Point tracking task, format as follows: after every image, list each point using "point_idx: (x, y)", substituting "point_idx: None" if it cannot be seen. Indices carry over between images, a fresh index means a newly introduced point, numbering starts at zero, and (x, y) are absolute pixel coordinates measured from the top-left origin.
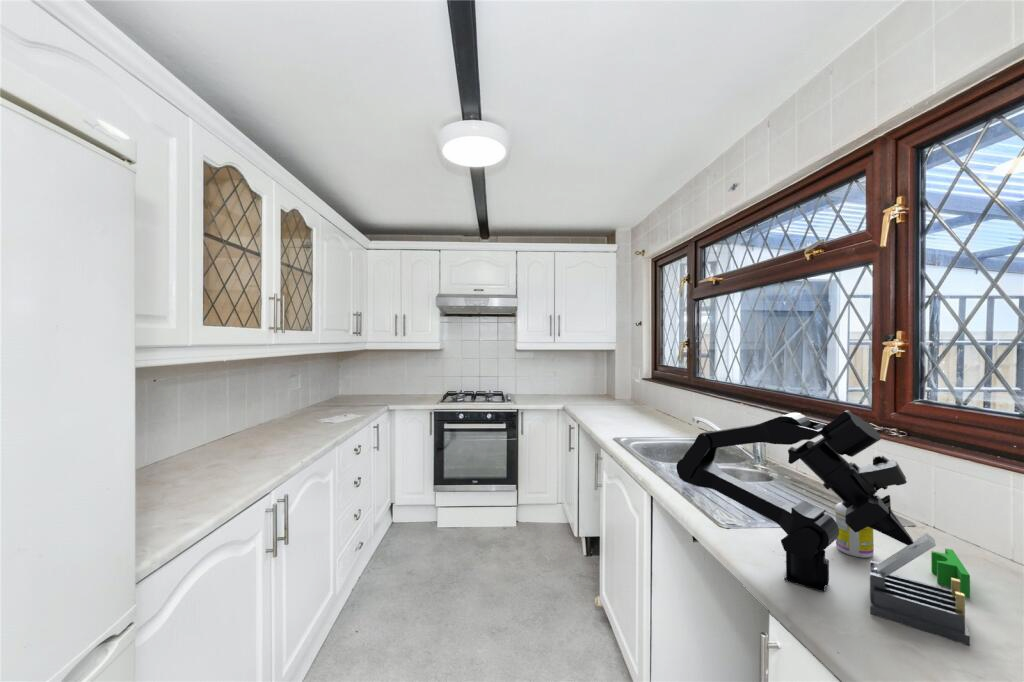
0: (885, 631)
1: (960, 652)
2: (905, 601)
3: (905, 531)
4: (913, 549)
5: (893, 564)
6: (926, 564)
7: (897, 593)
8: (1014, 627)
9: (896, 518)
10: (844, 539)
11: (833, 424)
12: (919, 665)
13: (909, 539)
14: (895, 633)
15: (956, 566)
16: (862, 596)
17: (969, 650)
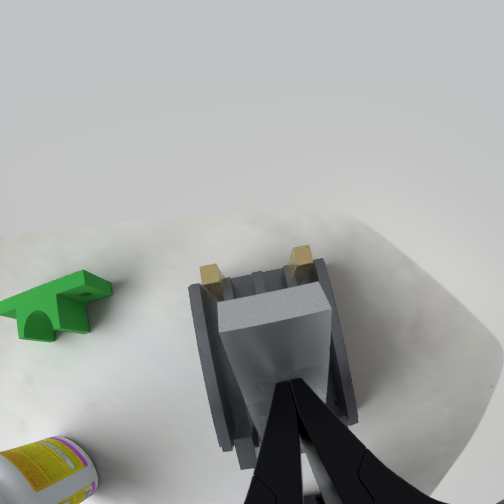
0: (394, 374)
1: (357, 273)
2: (347, 363)
3: (303, 422)
4: (327, 368)
5: None
6: (30, 349)
7: None
8: (176, 219)
9: (281, 494)
10: (82, 496)
11: None
12: (445, 308)
13: (313, 393)
14: (387, 361)
15: (56, 294)
16: None
17: (337, 263)
